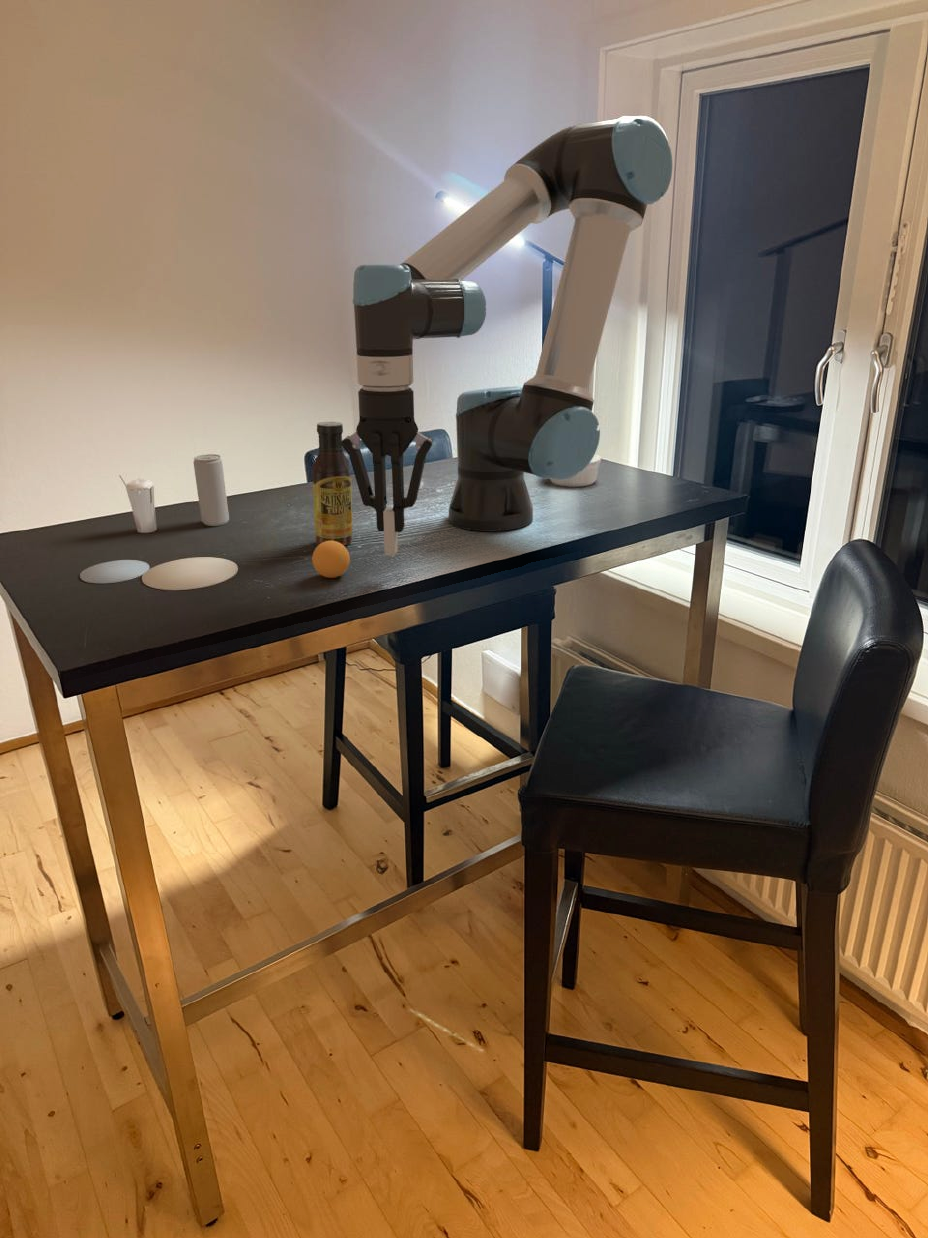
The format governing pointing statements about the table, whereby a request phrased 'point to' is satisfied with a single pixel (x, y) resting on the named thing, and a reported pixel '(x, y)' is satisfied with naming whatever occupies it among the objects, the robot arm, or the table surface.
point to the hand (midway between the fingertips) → (391, 552)
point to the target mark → (189, 573)
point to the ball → (331, 559)
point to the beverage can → (211, 489)
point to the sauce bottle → (332, 487)
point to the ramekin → (582, 475)
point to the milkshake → (142, 504)
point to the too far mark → (114, 571)
